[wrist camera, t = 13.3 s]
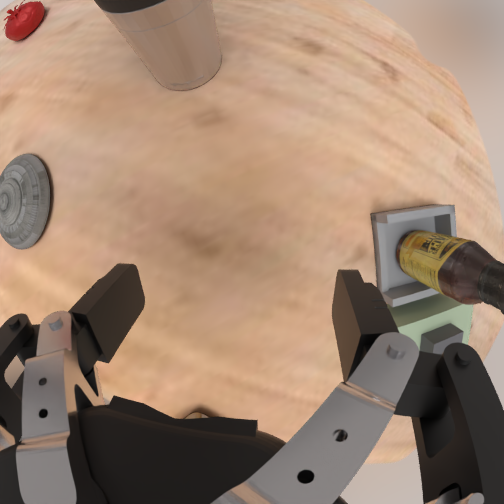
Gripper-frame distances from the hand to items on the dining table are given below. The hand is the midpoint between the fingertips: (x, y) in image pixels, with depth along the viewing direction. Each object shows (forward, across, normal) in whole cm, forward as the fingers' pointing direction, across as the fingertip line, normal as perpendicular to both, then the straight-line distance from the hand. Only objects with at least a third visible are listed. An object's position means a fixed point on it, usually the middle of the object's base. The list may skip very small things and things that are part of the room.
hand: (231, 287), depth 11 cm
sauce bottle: (+22, -20, +9) cm, 31 cm away
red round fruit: (+30, +47, -39) cm, 68 cm away
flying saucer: (+20, +37, 0) cm, 42 cm away
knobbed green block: (+22, -20, +14) cm, 33 cm away
